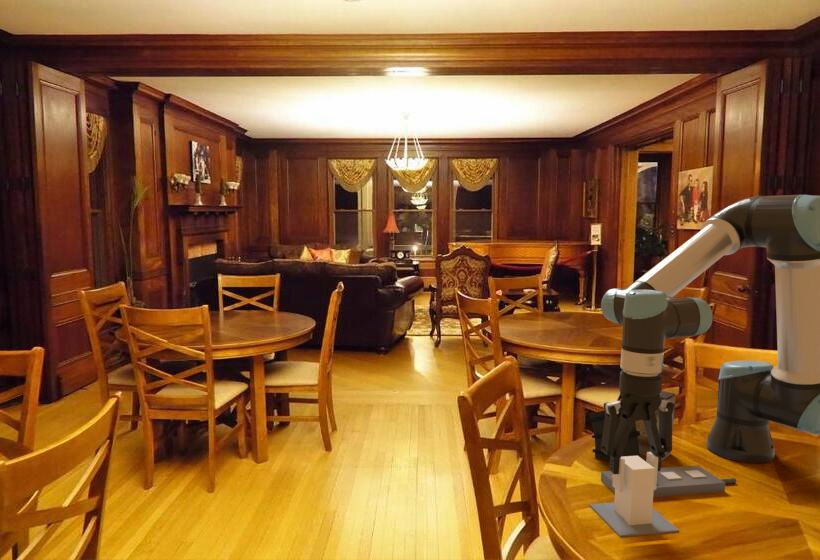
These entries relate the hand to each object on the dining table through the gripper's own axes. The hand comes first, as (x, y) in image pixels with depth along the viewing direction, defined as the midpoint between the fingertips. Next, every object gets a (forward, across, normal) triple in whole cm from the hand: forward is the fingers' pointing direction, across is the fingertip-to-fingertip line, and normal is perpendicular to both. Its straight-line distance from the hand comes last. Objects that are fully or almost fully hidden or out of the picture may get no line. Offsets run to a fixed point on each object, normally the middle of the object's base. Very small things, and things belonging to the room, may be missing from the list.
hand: (634, 487), depth 118 cm
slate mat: (+7, 0, 0) cm, 7 cm away
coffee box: (+7, +22, +30) cm, 38 cm away
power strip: (+7, +17, +12) cm, 22 cm away
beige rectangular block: (+6, 0, 0) cm, 6 cm away
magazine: (+7, +10, +26) cm, 29 cm away
